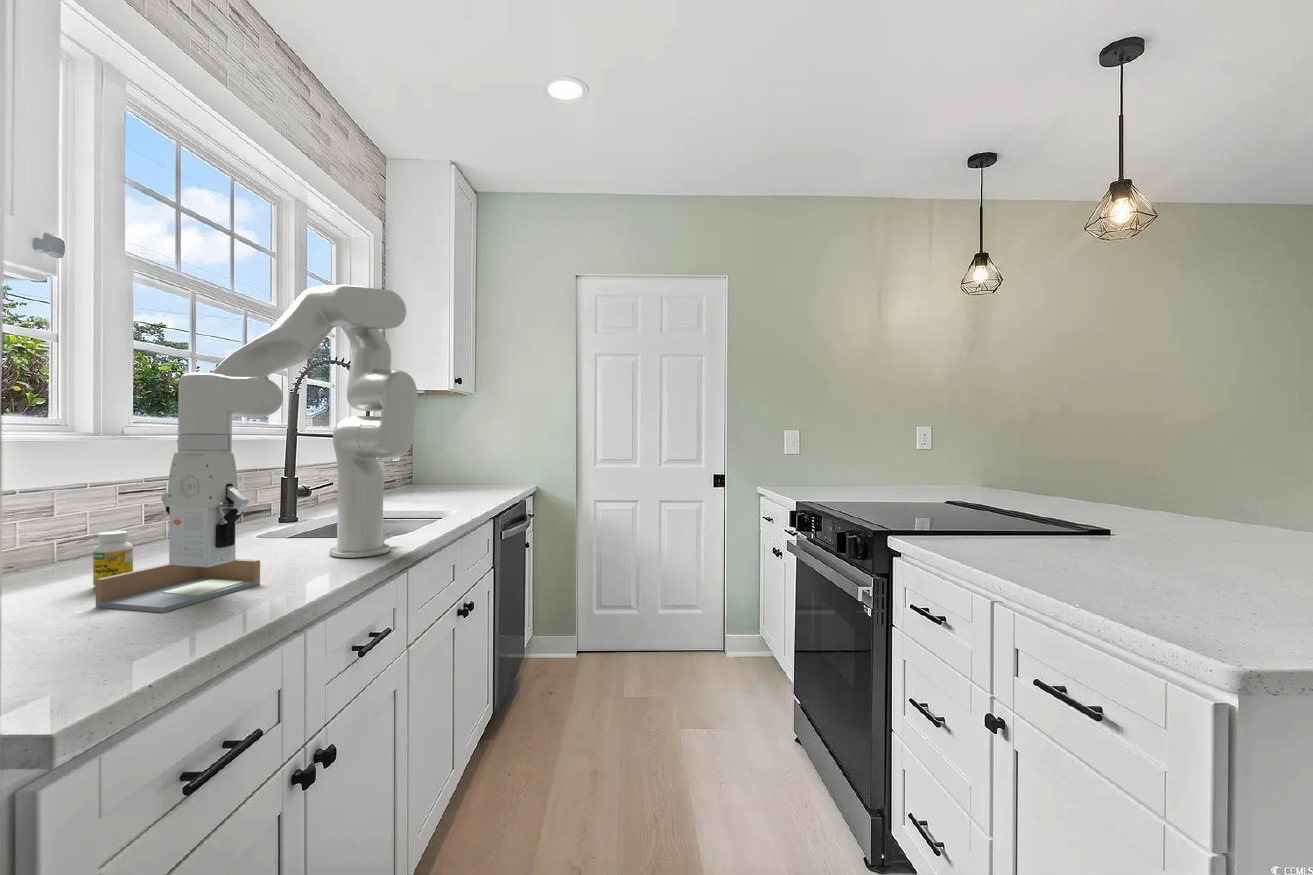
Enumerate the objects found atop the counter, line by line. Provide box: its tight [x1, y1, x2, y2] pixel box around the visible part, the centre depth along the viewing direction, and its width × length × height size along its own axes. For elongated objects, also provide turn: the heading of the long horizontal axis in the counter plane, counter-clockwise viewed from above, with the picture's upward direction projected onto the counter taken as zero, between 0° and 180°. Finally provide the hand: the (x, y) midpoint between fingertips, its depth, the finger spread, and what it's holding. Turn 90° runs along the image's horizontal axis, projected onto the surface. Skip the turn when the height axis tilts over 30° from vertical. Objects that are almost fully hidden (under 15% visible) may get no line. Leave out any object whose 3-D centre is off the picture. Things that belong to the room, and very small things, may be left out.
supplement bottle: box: [92, 530, 134, 589], centre depth 109 cm, size 5×5×10 cm
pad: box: [162, 579, 244, 596], centre depth 105 cm, size 9×7×1 cm
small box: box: [168, 503, 237, 567], centre depth 105 cm, size 8×6×10 cm
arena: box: [95, 558, 261, 613], centre depth 104 cm, size 18×13×4 cm
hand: (203, 544), depth 105 cm, fingers closed on small box, 8 cm apart
